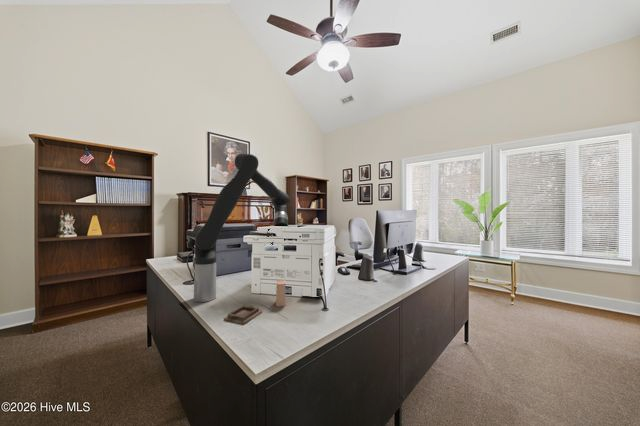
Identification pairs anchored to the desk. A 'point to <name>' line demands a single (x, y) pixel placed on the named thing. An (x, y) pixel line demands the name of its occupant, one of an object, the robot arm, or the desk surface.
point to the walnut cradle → (243, 314)
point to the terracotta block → (280, 292)
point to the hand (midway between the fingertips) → (281, 244)
